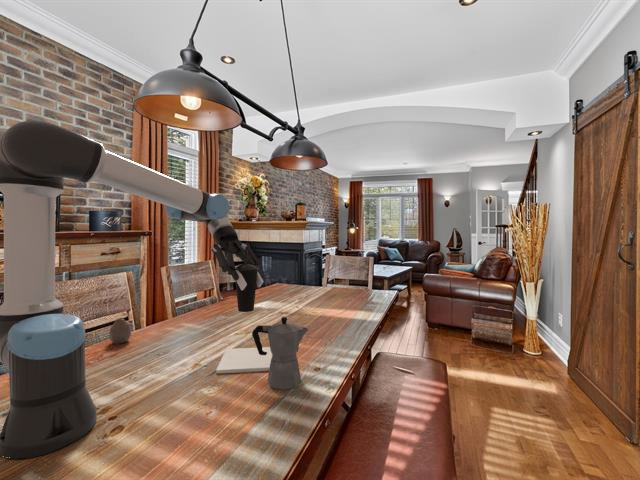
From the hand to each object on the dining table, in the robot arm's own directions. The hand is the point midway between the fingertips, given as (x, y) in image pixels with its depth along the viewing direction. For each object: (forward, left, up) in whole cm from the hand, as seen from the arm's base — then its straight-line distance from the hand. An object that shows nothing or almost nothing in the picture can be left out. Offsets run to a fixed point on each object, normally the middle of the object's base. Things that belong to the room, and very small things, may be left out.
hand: (252, 285), depth 95 cm
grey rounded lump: (+25, +51, -25) cm, 62 cm away
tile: (+3, +2, -25) cm, 25 cm away
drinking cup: (+3, +2, -8) cm, 9 cm away
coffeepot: (-12, -9, -25) cm, 29 cm away
